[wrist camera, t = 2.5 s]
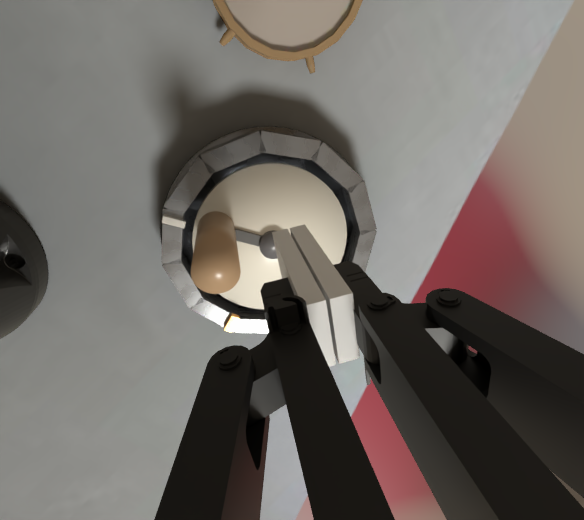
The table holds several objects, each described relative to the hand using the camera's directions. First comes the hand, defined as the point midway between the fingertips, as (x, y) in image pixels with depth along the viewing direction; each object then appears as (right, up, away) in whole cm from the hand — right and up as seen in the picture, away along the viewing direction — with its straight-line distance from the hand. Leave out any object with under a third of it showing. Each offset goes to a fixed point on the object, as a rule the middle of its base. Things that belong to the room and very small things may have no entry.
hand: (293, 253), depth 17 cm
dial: (-2, +2, +16) cm, 16 cm away
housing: (-2, +2, +17) cm, 17 cm away
